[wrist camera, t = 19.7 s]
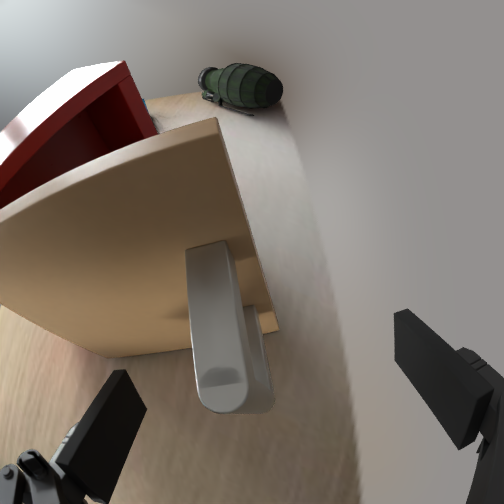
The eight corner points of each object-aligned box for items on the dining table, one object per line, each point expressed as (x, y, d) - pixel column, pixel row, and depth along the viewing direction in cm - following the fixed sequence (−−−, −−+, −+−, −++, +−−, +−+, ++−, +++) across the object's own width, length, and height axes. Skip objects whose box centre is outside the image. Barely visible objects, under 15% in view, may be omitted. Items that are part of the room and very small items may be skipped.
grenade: (267, 62, 26) (197, 55, 31) (249, 115, 28) (183, 98, 34) (295, 77, 30) (226, 66, 35) (278, 124, 33) (213, 105, 38)
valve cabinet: (203, 225, 24) (125, 59, 11) (104, 349, 20) (-58, 246, 7) (146, 196, 27) (73, 69, 15) (62, 296, 23) (-53, 198, 10)
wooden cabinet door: (296, 408, 15) (266, 395, 3) (111, 425, 16) (-80, 377, 4) (277, 318, 19) (216, 115, 6) (107, 348, 19) (-53, 247, 7)
